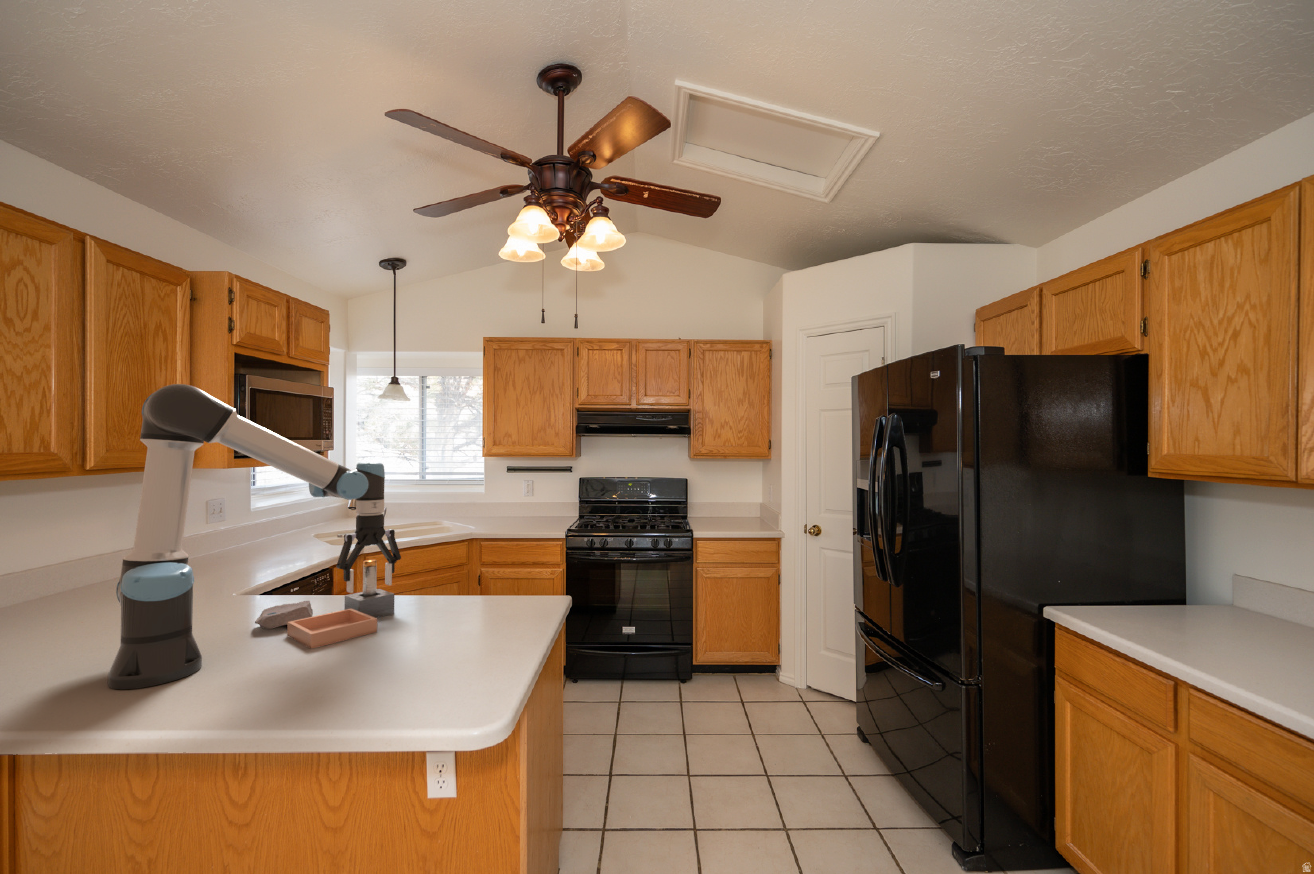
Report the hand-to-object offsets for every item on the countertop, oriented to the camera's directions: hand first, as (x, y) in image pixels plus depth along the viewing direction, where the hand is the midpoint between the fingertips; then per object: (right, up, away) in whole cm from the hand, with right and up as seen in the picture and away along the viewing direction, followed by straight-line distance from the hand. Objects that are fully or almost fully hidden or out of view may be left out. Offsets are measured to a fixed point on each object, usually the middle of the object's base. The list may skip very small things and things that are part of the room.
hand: (369, 588), depth 164 cm
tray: (-1, -7, -17) cm, 19 cm away
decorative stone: (-19, -8, -11) cm, 23 cm away
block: (0, -8, 0) cm, 8 cm away
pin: (0, -8, 0) cm, 8 cm away
